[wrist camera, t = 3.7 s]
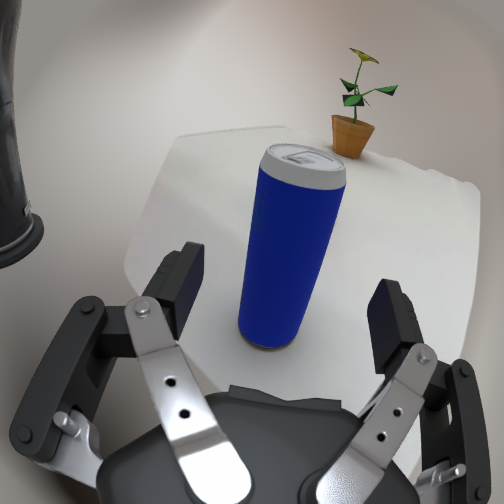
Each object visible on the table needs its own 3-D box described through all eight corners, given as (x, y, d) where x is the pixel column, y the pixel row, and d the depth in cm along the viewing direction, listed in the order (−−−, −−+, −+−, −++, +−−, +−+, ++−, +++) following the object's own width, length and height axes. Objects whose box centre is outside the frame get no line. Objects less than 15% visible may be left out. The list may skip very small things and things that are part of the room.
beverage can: (267, 297, 28) (300, 140, 19) (308, 331, 25) (365, 167, 16) (225, 322, 24) (242, 145, 16) (266, 362, 22) (316, 178, 13)
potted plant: (360, 169, 66) (386, 54, 48) (302, 144, 76) (320, 42, 58) (387, 164, 76) (410, 70, 58) (336, 142, 86) (354, 56, 69)
